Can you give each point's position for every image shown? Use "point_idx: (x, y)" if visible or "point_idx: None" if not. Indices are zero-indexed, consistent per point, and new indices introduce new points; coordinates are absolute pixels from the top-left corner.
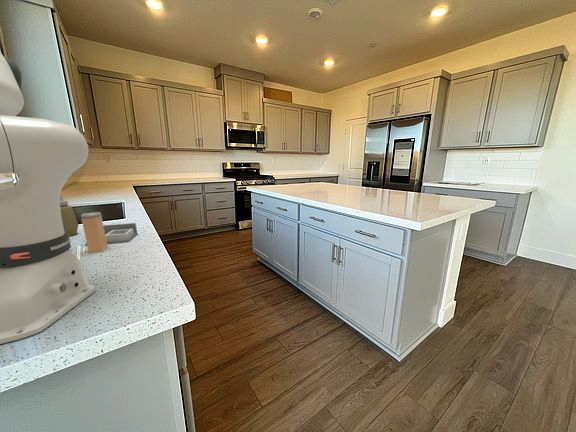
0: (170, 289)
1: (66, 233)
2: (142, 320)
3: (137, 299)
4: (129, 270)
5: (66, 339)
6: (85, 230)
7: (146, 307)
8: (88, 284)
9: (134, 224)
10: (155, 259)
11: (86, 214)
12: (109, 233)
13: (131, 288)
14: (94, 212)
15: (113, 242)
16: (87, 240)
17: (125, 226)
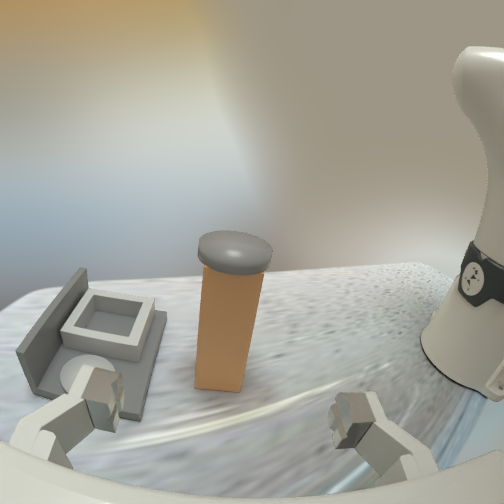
0: (406, 268)
1: (473, 240)
2: (451, 279)
3: (431, 284)
4: (368, 299)
5: None
6: (254, 320)
7: (438, 279)
8: (433, 316)
9: (85, 272)
10: (320, 278)
11: (247, 251)
12: (110, 334)
13: (415, 291)
14: (207, 240)
15: (157, 346)
16: (247, 355)
17: (74, 293)
